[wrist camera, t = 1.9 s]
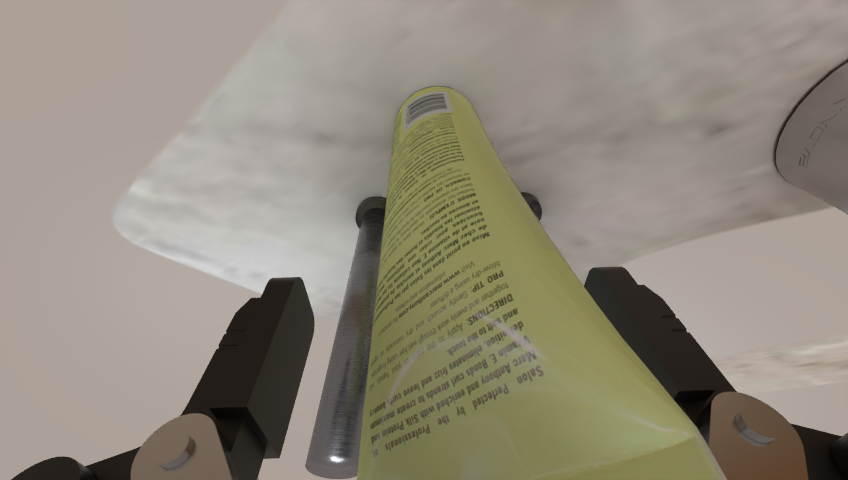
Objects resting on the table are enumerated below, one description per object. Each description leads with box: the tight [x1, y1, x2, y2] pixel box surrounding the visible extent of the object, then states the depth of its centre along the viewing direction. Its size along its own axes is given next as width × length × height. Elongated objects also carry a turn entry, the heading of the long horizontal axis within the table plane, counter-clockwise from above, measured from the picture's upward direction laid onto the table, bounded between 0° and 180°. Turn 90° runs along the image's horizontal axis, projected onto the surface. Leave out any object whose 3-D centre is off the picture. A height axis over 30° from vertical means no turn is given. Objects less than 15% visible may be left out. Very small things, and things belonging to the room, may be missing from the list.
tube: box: [357, 86, 727, 480], centre depth 13 cm, size 6×5×20 cm
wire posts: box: [305, 193, 542, 479], centre depth 21 cm, size 14×11×16 cm
